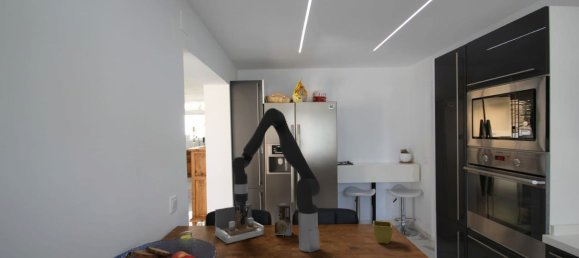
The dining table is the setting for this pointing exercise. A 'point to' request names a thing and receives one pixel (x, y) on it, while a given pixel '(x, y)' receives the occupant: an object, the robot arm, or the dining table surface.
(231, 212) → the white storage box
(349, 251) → the dining table surface
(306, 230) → the robot arm
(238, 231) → the tray
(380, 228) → the flower pot
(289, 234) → the coffee box
